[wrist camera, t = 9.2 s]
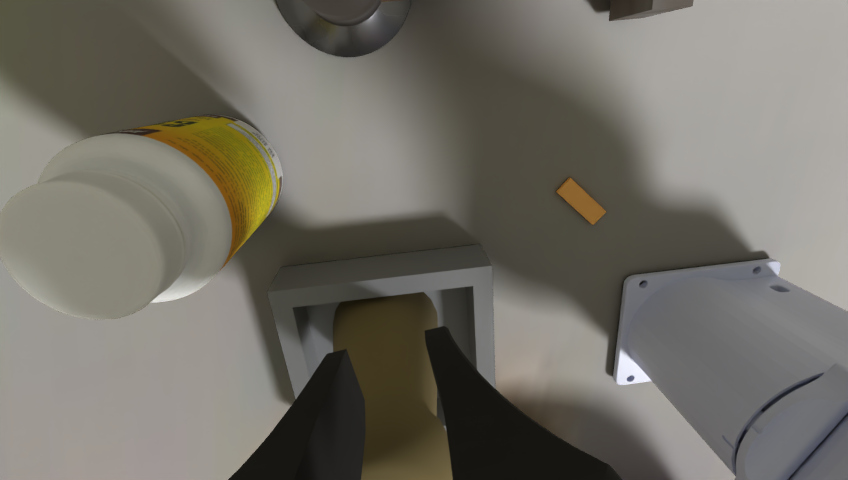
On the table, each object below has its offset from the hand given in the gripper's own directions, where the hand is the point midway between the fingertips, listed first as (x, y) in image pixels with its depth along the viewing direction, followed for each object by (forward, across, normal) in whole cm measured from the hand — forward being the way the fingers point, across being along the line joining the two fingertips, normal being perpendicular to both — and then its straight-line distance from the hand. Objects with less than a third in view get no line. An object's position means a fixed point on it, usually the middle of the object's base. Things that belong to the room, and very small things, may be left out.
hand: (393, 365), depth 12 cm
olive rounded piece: (+10, +2, +5) cm, 11 cm away
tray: (+10, +1, +6) cm, 12 cm away
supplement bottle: (+11, +7, -5) cm, 14 cm away
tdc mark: (+10, -11, 0) cm, 15 cm away
